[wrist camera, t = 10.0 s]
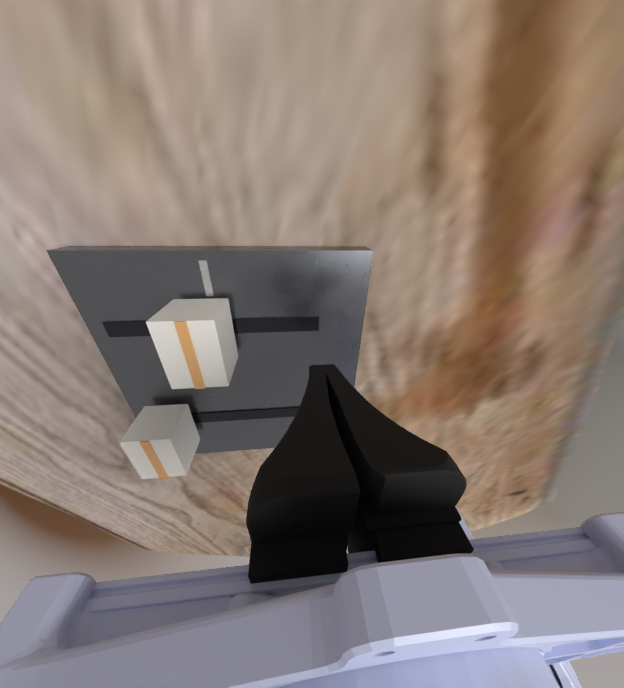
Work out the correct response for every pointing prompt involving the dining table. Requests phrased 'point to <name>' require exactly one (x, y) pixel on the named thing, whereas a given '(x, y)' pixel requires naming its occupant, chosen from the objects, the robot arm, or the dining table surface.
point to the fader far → (161, 441)
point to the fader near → (195, 342)
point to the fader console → (247, 317)
